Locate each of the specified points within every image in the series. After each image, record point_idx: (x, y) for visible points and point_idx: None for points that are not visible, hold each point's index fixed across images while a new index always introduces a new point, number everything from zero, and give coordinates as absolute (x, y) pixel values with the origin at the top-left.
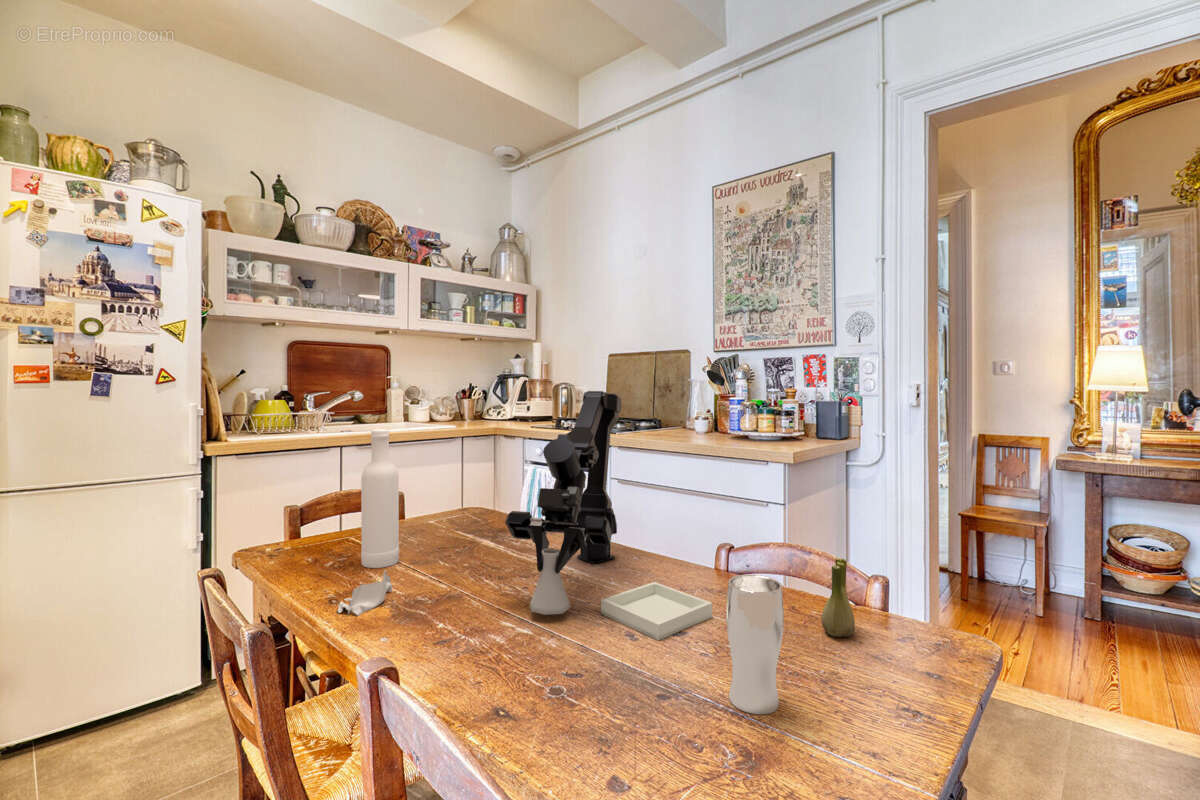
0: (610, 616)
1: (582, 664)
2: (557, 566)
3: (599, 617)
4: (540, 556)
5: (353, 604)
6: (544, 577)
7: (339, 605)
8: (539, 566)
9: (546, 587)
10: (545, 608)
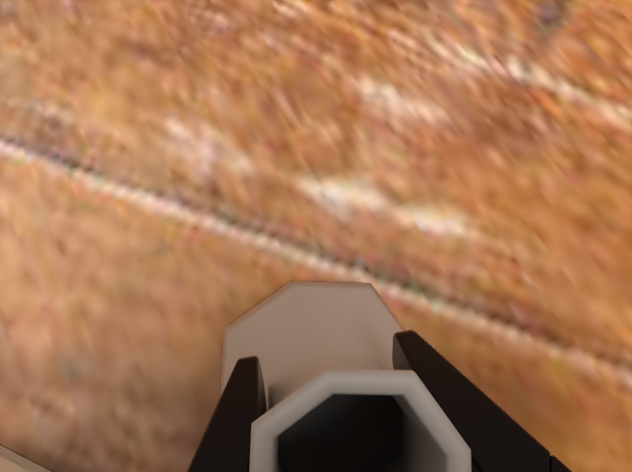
0: (28, 463)
1: (21, 41)
2: (241, 381)
3: (88, 448)
4: (448, 406)
5: None
6: (347, 343)
7: None
8: (405, 343)
9: (315, 320)
10: (299, 288)
